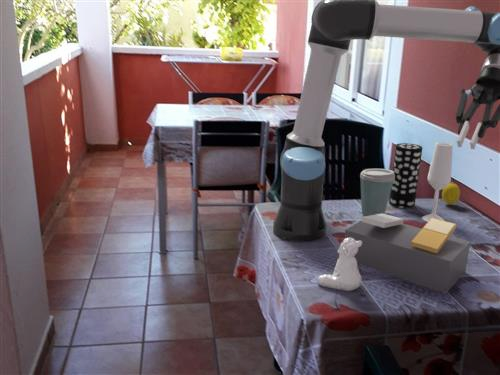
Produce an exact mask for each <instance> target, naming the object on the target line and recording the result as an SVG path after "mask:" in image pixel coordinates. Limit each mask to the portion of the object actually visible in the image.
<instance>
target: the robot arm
mask: <svg viewBox="0 0 500 375" xmlns="http://www.w3.org/2000/svg"><path fill="white" fill-rule="evenodd" d="M310 23H311V26H310V30H309V34H308V39H307V44H308V46H309V48H310V50H311V51H310V54H309V58H308V64H307V68H306V71H305V72H306V73H305V78H304V81H303V85H302V91H301V95H300V99H299V103H298V108H297V113H296V116H295V120H294V126H293V129H292V131H291V132H289V133H288V134H287V135H286V138H285V142H284V145H283V146H284V147H283V149H282V152H281V153H280V159H279V163H280V169H281V170H280V171H281V173H280V174H281V184H280V188H281V189H280V205H279V207H278V210H277V212H276V215H275V218H274V221H273V227H272V230H273V233H274V234H275V235H276V236H277V237H279V238H281V239H284V240H287V241H291V242H292V241H293V242H303V243H305V242H306V243H307V242H308V243H309V242H314V241H318V240H321V239H323V238H324V237H325V236H326V235H327V223H326V219H325V214H324V211H323V196H324V194H323V193H324V180H325V179H324V177H325V171H326V170H325V169H326V159H325V156H324V148H325V142H324V139H323V138H322V135H323V131H324V128H325V127H324V126H325V123H326V119H327V116H328V111H329V109H330V108H329V107H330V103H331V98H332V95H333V92H334V87H335V83H336V79H337V75H338V70H339V67H340V62H341V58H342V56H343V55H345V54H346V53H348V51H349V48H350V44H351V41H352V40H353V41H354V40H366V41H369V40H371V39H373V38H374V37H385V38H386V37H387V38H401V39H417V40H430V41H431V40H432V41H445V42H446V41H447V42H458V43H459V42H461V43H471V44H473V45H475V47H477V48H479V49H480V50H481V51H483V52H484V53H486V54H487V55H486V58H485V60H484V61H483V65H482V67H481V70H480V72H479V74H478V76H477V79H476V81H475V84H474V85H473V86H472V87H471V88H469V89H467V90H466V89H465V88H461V89H460V90H459V91H460V99H459V103H458V107H457V109H456V114H455V120H456V123H457V124H459V126H458V128H457V134H458V137H457V140H456V143H457V147H458V148H462V146H463V143H464V141H465V139H466V137H467V134H468V132H469V130H470V124H469V123H470V121H471V120H472V118H473V116H474V115H475V114H476V112H477V110H478V108H480V106H481V105H485V108H484V113H483V116H482V119H481V122H478V123H477V125H476V127H475V130H474V133H473V134H472V137H471V140H470V142H469V144H470V146H469V147H470V149H471V150H475V148H476V146H477V144H478V141H479V139H483V138H484V136H485V134H486V132H487V130H488V129H489V128H491V129H495V128H496V127H497V126H498V123H499V122H500V103H499V104H498V106H497V107H496V109H495V112H494V113H493V115H492V111H493V109H494V104H495V103H496V102H498V101H500V12H497V11H496V12H495V11H482V10H481V9H479V8H477V7H475V6H473V5H472V6H468V7H467V8H465V9H456V8H455V9H452V8H441V7H440V8H438V7H426V6H423V7H422V6H421V7H420V6H409V5H407V6H406V5H395V4H394V5H393V4H381V3H379V2H378V1H377V0H320V1H319V2H318V3H317V5H316V6H315V7H314V9H313V11H312V14H311V22H310ZM470 96H472V101H471V103H470V104H469V106H468V108H467V109H466V107H467V103H468V100H469V98H470ZM491 115H492V116H491Z"/></svg>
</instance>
